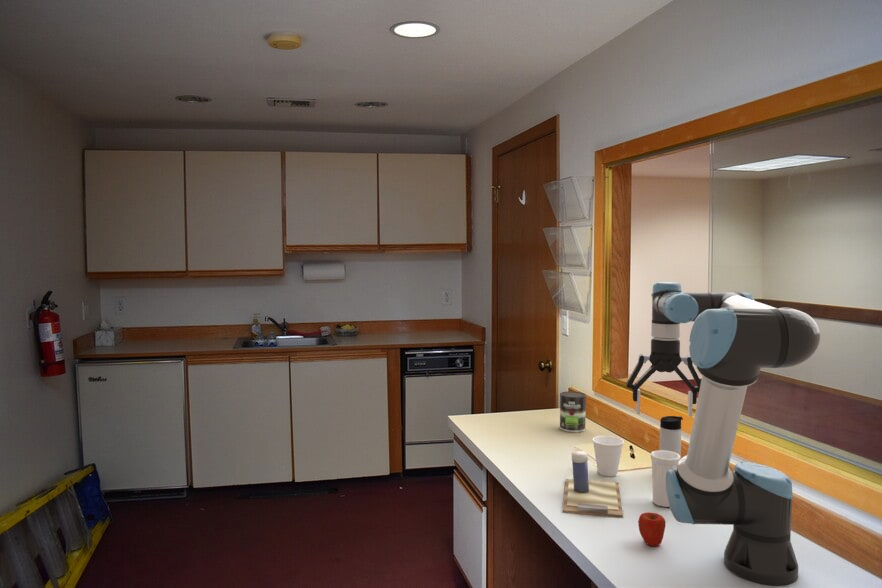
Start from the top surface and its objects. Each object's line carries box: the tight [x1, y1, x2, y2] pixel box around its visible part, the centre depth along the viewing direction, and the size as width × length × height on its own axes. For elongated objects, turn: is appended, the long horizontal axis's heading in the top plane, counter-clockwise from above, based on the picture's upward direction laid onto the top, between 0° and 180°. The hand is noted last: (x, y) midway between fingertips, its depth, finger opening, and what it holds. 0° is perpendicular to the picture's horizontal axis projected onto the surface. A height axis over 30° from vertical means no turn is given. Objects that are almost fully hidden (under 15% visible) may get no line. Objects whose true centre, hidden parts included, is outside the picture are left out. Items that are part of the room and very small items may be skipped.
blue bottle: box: [571, 450, 589, 493], centre depth 187 cm, size 5×5×11 cm
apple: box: [637, 511, 667, 547], centre depth 156 cm, size 6×6×8 cm
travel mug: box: [659, 415, 684, 459], centre depth 198 cm, size 6×7×20 cm
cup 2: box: [650, 449, 680, 508], centre depth 179 cm, size 8×8×14 cm
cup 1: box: [591, 435, 625, 477], centre depth 203 cm, size 10×10×11 cm
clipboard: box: [562, 478, 624, 519], centre depth 184 cm, size 24×16×2 cm, turn 167°
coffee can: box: [559, 390, 587, 433], centre depth 252 cm, size 10×10×14 cm
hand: (663, 414), depth 175 cm, fingers open, 13 cm apart
